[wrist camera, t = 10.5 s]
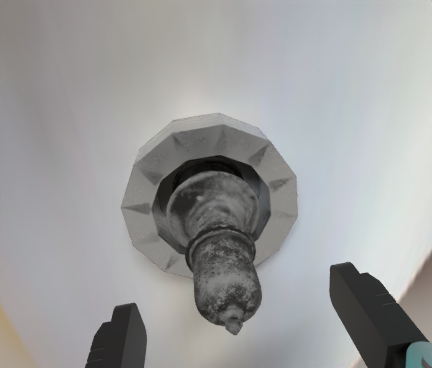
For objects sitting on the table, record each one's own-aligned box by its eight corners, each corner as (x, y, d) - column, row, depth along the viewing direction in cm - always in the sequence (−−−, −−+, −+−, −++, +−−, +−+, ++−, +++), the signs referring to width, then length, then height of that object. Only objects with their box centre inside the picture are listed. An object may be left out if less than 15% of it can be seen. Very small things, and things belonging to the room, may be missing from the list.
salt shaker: (247, 222, 23) (303, 376, 13) (171, 226, 23) (161, 392, 12) (250, 150, 21) (323, 265, 10) (165, 153, 20) (145, 279, 10)
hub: (111, 130, 19) (100, 145, 17) (279, 102, 20) (294, 112, 17) (155, 275, 25) (152, 304, 22) (286, 251, 25) (299, 276, 22)
